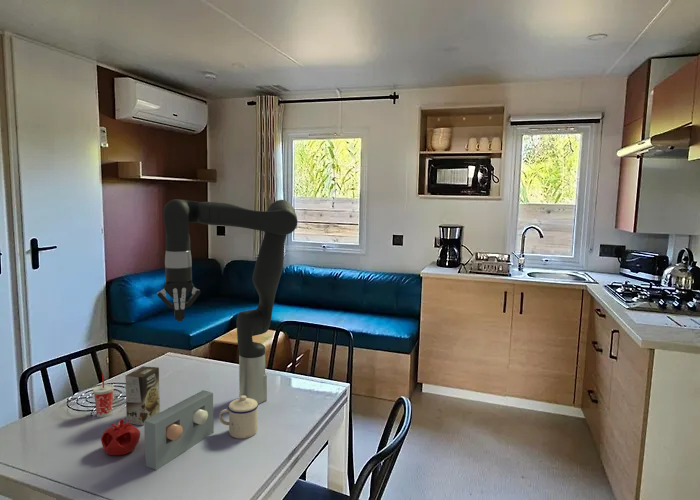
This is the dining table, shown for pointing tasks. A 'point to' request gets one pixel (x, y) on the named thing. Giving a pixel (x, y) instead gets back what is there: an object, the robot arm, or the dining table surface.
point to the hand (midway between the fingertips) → (179, 320)
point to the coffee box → (142, 394)
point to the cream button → (200, 416)
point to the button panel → (181, 414)
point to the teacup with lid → (241, 417)
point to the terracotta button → (174, 431)
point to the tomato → (120, 438)
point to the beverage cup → (103, 399)
